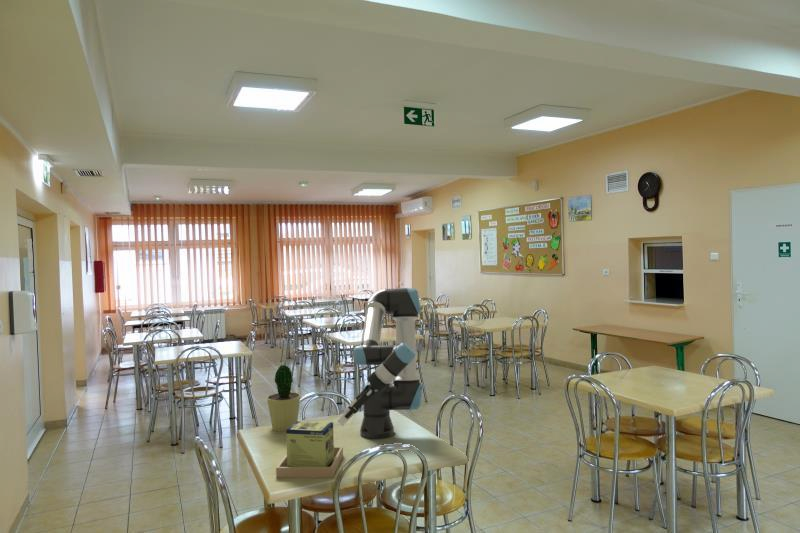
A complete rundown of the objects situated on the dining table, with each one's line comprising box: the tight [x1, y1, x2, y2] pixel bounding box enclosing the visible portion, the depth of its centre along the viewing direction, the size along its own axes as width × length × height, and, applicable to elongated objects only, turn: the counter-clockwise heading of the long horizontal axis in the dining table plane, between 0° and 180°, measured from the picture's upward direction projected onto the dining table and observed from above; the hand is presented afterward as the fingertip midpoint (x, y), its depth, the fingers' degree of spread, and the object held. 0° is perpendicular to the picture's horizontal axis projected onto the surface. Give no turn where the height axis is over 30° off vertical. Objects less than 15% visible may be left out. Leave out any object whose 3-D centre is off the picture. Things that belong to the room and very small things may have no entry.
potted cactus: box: [266, 364, 301, 432], centre depth 257 cm, size 15×15×30 cm
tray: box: [275, 446, 344, 478], centre depth 207 cm, size 21×22×4 cm
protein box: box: [285, 420, 335, 467], centre depth 207 cm, size 10×16×16 cm
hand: (343, 418), depth 206 cm, fingers open, 13 cm apart
